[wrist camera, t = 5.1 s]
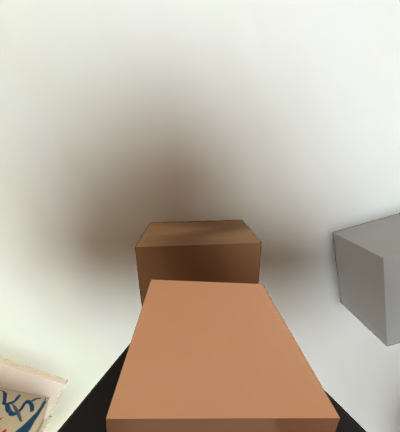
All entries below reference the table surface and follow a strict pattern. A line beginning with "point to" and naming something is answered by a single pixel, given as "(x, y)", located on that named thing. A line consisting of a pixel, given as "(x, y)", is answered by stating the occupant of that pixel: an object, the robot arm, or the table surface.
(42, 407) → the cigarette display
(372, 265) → the slate block
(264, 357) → the terracotta cube
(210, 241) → the walnut block
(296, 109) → the table surface
